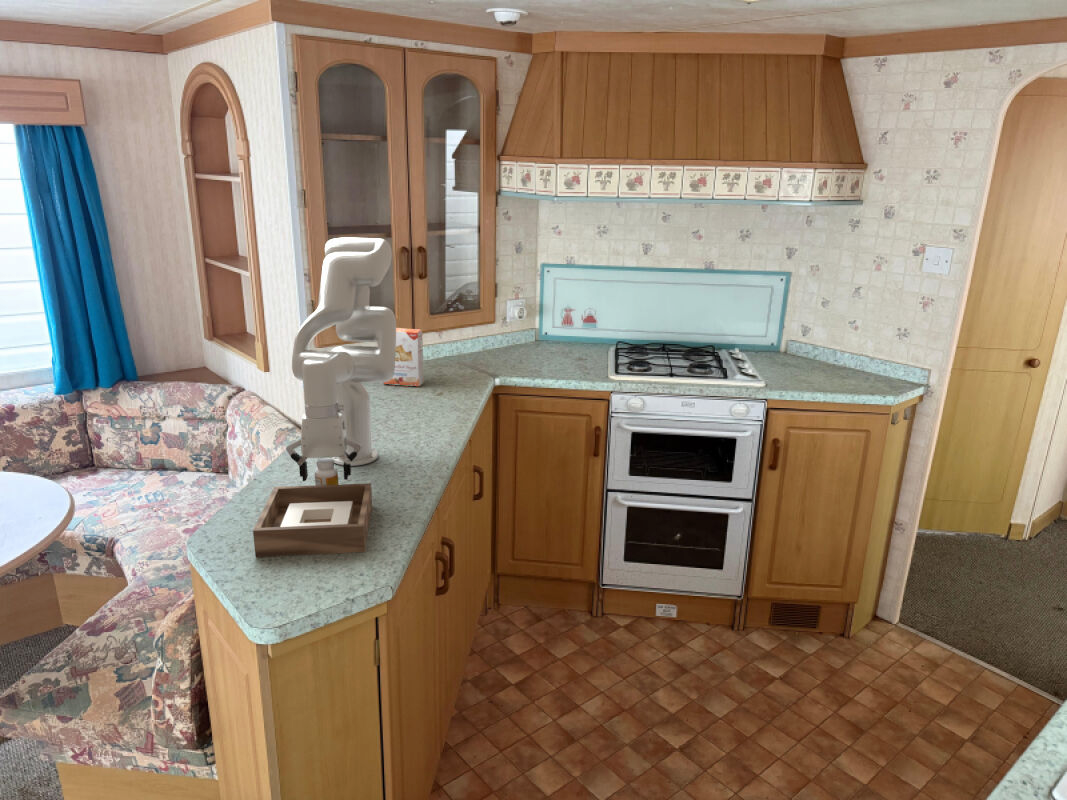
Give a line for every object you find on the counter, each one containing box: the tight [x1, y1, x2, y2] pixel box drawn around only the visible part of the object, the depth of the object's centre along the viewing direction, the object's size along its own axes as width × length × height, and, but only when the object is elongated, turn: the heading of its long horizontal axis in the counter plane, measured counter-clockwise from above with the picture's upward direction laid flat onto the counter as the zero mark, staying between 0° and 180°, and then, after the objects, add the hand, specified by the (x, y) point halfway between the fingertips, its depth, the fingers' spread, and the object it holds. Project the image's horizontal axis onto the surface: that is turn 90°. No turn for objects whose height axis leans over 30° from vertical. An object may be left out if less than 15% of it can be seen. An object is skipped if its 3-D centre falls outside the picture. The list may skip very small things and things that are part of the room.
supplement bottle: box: [314, 457, 340, 485], centre depth 180 cm, size 5×5×10 cm
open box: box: [252, 483, 373, 558], centre depth 164 cm, size 22×22×6 cm
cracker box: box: [382, 327, 424, 386], centre depth 274 cm, size 14×6×21 cm, turn 81°
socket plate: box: [280, 501, 353, 527], centre depth 164 cm, size 14×14×2 cm
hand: (325, 478), depth 179 cm, fingers open, 9 cm apart
